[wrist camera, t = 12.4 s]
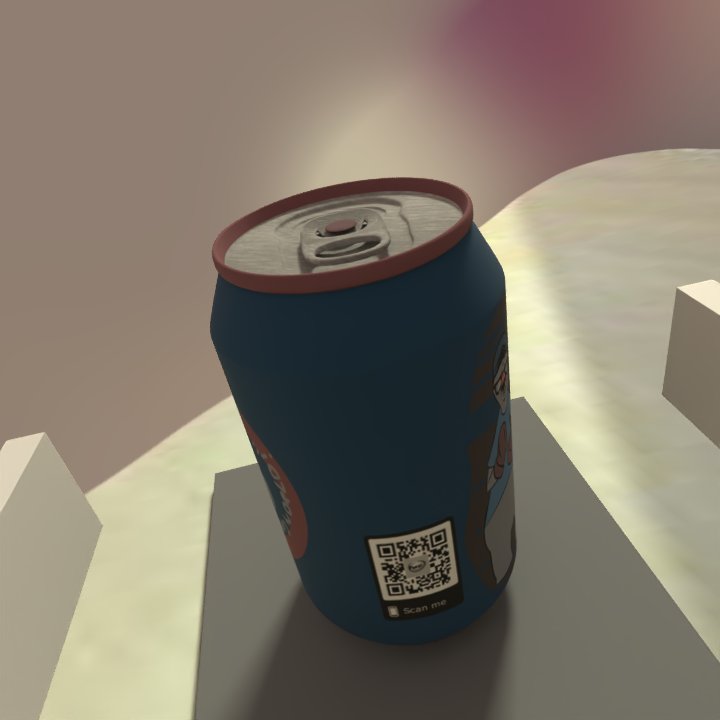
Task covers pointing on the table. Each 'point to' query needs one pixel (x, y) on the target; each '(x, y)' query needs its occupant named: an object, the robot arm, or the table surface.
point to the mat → (470, 645)
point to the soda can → (376, 398)
